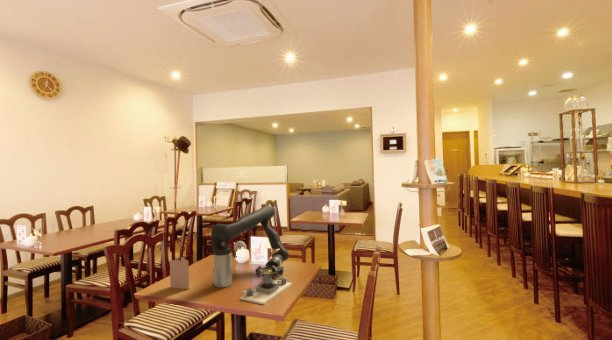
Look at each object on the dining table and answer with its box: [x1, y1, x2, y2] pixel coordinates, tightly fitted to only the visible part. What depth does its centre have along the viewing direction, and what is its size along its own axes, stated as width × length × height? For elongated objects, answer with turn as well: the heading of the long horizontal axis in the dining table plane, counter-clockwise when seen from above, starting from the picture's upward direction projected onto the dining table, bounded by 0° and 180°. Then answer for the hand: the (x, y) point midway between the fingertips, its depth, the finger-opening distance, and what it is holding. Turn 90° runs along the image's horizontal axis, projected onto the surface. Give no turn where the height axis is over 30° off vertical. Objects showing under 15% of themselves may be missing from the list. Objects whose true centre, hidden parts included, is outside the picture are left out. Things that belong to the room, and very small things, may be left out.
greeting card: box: [169, 256, 190, 290], centre depth 163 cm, size 11×7×15 cm, turn 41°
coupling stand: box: [239, 277, 293, 306], centre depth 154 cm, size 14×26×4 cm, turn 152°
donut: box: [233, 240, 247, 253], centre depth 224 cm, size 10×4×10 cm, turn 71°
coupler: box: [262, 269, 273, 289], centre depth 154 cm, size 5×5×10 cm
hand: (266, 275), depth 153 cm, fingers open, 8 cm apart
